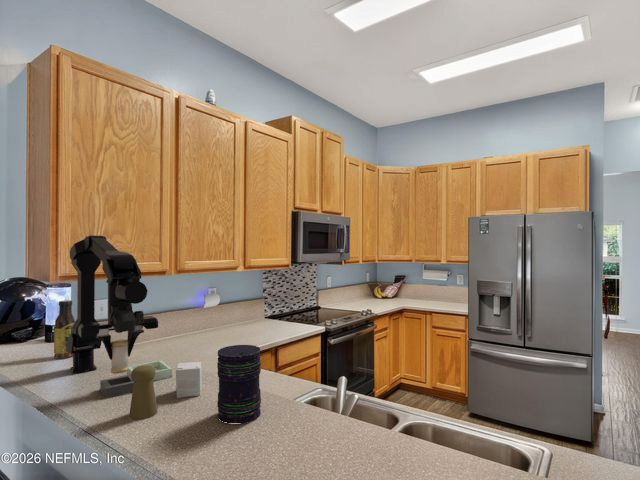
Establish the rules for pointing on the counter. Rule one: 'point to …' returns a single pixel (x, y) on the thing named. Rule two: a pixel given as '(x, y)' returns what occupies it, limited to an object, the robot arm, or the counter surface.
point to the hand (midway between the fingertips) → (119, 357)
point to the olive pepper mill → (143, 393)
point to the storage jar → (239, 383)
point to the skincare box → (188, 379)
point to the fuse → (119, 356)
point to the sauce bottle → (63, 329)
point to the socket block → (116, 386)
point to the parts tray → (159, 366)
